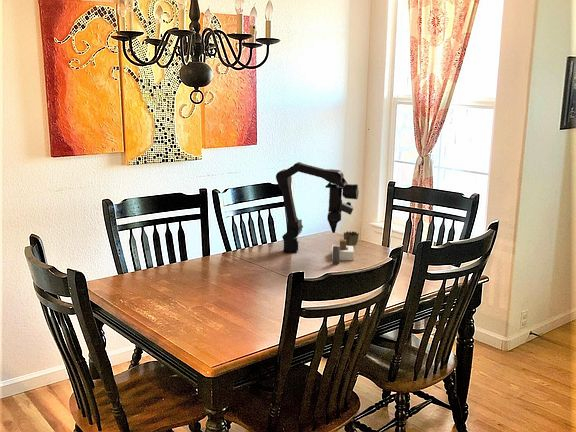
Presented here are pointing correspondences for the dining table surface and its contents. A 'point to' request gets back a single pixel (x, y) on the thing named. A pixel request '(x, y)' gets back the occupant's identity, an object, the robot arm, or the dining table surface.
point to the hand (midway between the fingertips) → (333, 230)
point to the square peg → (342, 244)
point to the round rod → (336, 254)
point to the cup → (351, 238)
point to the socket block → (345, 253)
